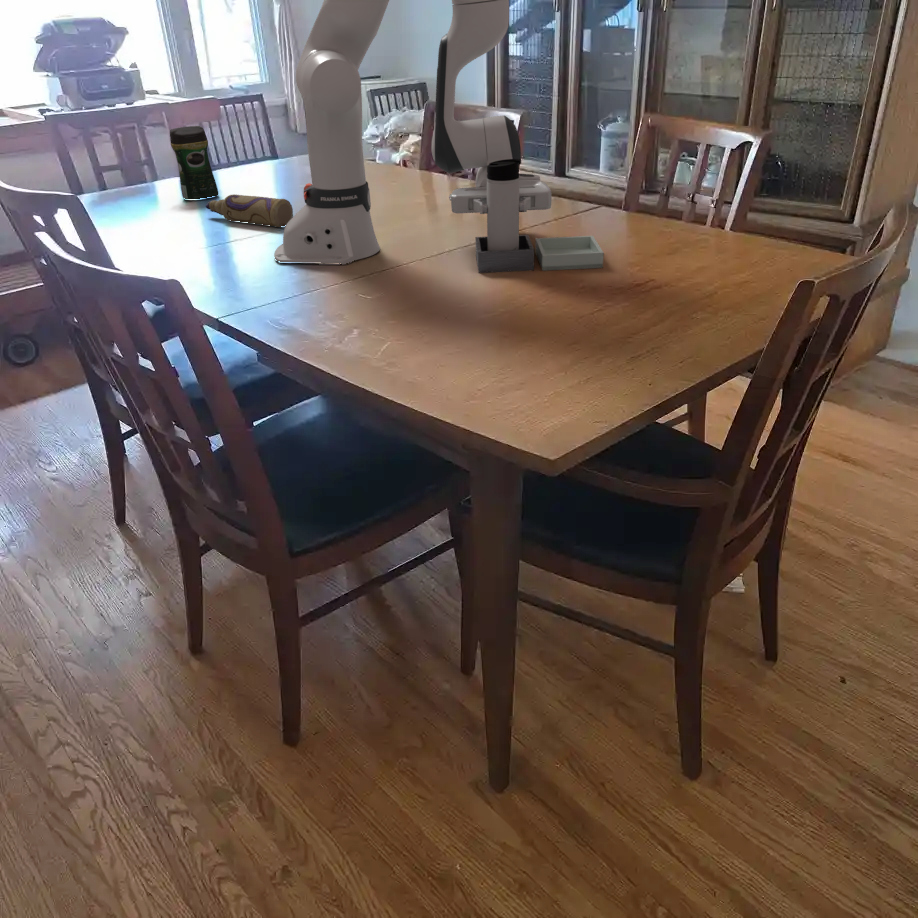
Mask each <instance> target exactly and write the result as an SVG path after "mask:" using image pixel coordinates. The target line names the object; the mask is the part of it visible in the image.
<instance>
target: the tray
mask: <svg viewBox="0 0 918 918" xmlns="http://www.w3.org/2000/svg"><path fill="white" fill-rule="evenodd" d="M534 254H535V255H536V258H537V260H538V263H539V265H540V268H541V271H544V272H545V271H561V270H562V271H563V270H582V269H584V270H585V269H586V270H587V269H602V268H604V251H603V250H602V248H601V246H600V245H599V243H598V241H597V239H596V238H595V237H594V235H579V236H558V237H557V236H556V237H536V238H535V249H534Z"/></svg>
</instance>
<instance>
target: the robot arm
mask: <svg viewBox="0 0 918 918" xmlns="http://www.w3.org/2000/svg"><path fill="white" fill-rule="evenodd" d="M389 2H390V0H323V2H322V5H321V7H320V10H319V12H318V14H317V15H316V16H317V17H316V19H315V21H314V23H313V26H312V28H311V30H310V33H309V35H308V37H307V39H306V42H305V45H304V48H303V50H302V53H301V55H300V58H299V61H298V63H297V66H296V68H295V69H296V70H295V82H296V86H297V89H298V91H299V92H300V95H301V96H302V97H303V103H304V111H305V125H306V143H307V144H306V145H307V147H306V148H307V153H308V161H309V162H308V163H309V169H310V176H311V177H310V178H311V183H310V182H309V183H306V184H305V185H304V187H303V199H304V204H305V205H304V206H303V207H302V208H300V210H299V211H297V212H296V213H295V214H294V215H293V218H292V219H291V220H290V221H289V222H288V223H287V224H286V226H285V228H283V236H282V244H280V245H279V246H278V247H277V248H275V251H274V255H273V256H274V257H275V258H274V260H275V259H276V260H277V261H280V262H321V263H339V264H338V265H340V263H341V264H342V265H347V264H346V263H348V264H350V263H353V262H354V260H355V261H357V260H362V259H365V258H368V257H371V256H373V255H375V254H377V253H378V252H379V251H380V250H381V247H380V244H379V242H378V240H377V237H376V232H375V230H374V224H373V221H372V216H371V207H372V206H371V204H372V203H371V193H370V186H369V182H368V181H367V179H366V169H365V168H366V167H365V160H364V159H365V158H364V149H363V148H364V147H363V104H362V103H363V100H362V99H363V96H362V95H363V93H362V79H361V76H360V72H359V69H360V66H361V64H362V62H363V61H364V58H365V56H366V54H367V53H368V50H369V48H370V47H371V45H372V43H373V41H374V39H375V38H376V36H377V34H378V31H379V29H380V26H381V24H382V21H383V18H384V16H385V14H386V13H385V12H386V10H387V8H388V4H389ZM509 2H510V0H451V4H452V5H451V6H452V17H451V22H450V27H449V29H448V31H447V33H446V34H445V35H443V36H442V37H441V39H440V43H439V46H438V53H437V54H438V55H437V57H438V58H437V66H436V67H437V68H436V87H435V88H436V89H435V110H434V111H435V112H434V114H435V118H434V119H435V120H434V127H433V133H432V137H431V154H432V158H433V162H434V164H435V166H437V167H438V168H439V169H441V170H442V171H444V172H446V173H448V174H452V173H458V172H462V171H465V170H470V169H471V170H472V169H478V170H477V173H476V176H475V186H473V187H472V186H471V187H470V186H469V187H459V188H456V189H453V190H452V192H451V193H450V194H449V196H448V198H449V201H450V204H451V205H450V206H451V212H452V213H453V214H474V213H475V214H476V213H477V214H478V213H479V214H480V215H485V214H486V215H487V213H488V211H487V174H488V173H487V166H488V165H489V163H491V162H495V161H499V160H506V159H521V160H522V157H521V156H522V149H521V141H520V136H519V133H518V129H517V126H516V125H515V123H514V122H513V121H512V120H511V119H510V118H509V117H508V116H507V115H496V116H495V115H494V116H488V117H482V118H476V119H475V118H474V119H468V120H456V119H455V117H454V116H455V101H456V99H455V98H456V82H457V77H458V75H459V74H460V72H461V71H462V70H463V69H464V67H466V66H467V65H468V64H469V63H472V61H474V60H476V59H478V58H480V57H481V56H484V55H485V54H486V53H489V52H490V51H491V50H493V49H494V48H495V47H496V46H498V44H499V43H500V42H502V40H503V38H504V37H505V36H506V34H507V32H508V29H509V23H510V22H509V21H510V5H509V4H510V3H509ZM552 198H553V197H552V190H551V188H550V186H549V185H548V184H547V183H546V182H544V181H542V180H541V176H540V175H538V174H532V173H531V174H528V173H520V172H519V213H525V212H526V213H527V212H528V211H540V210H550V209H551V208H552V201H553V200H552ZM352 261H353V262H352ZM349 262H350V263H349Z"/></svg>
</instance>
